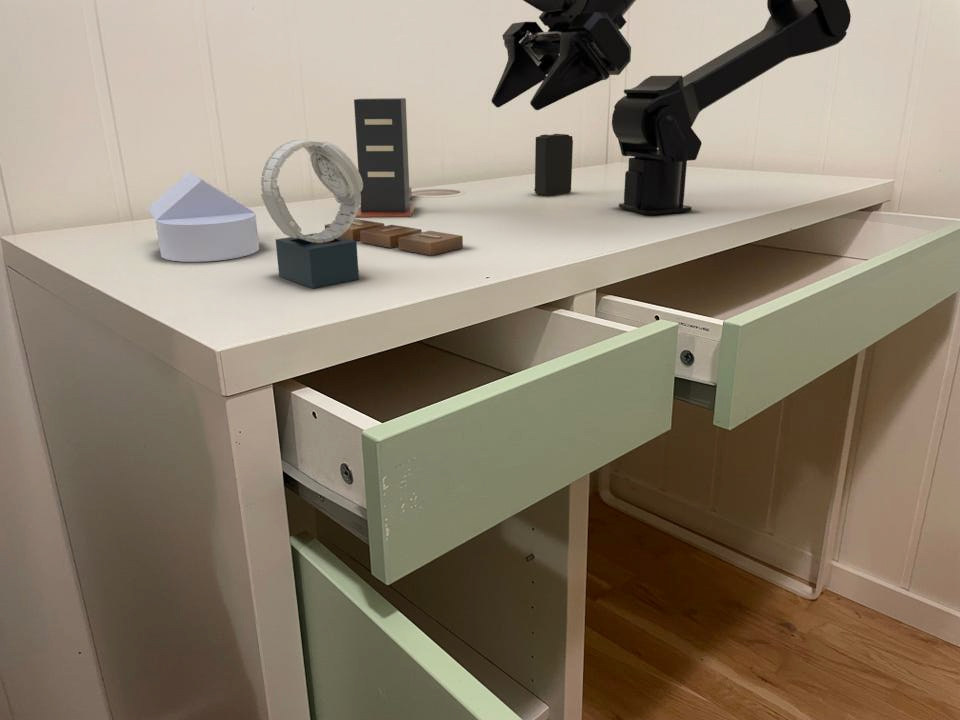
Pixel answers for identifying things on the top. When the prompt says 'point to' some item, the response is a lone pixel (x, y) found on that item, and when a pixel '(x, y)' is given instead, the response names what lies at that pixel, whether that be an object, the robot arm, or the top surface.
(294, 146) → the watch
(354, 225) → the segmented wooden bar
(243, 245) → the wedge on round base
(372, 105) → the striped dark tower
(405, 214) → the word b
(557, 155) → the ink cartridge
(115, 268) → the top surface
